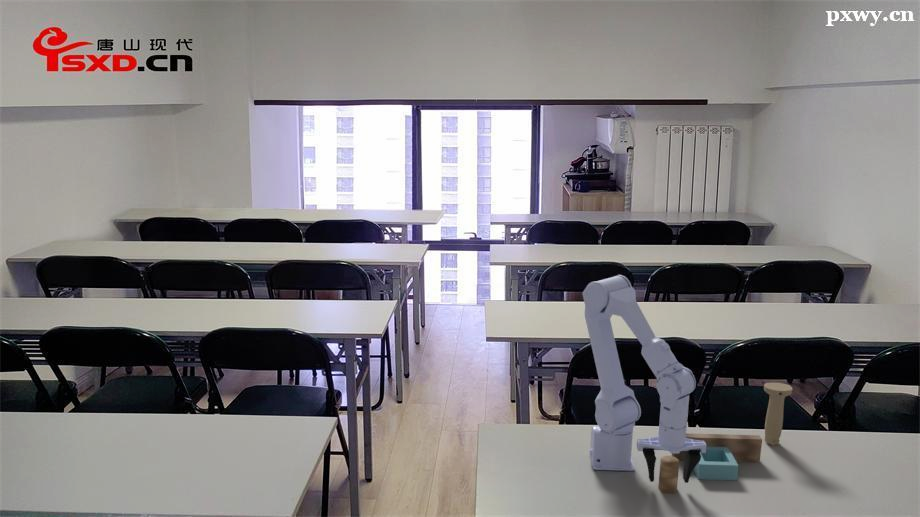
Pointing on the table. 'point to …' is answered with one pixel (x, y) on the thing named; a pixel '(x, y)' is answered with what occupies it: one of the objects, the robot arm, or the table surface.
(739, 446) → the wall
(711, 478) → the socket block
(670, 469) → the dowel
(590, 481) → the table surface
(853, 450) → the table surface
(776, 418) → the handle
